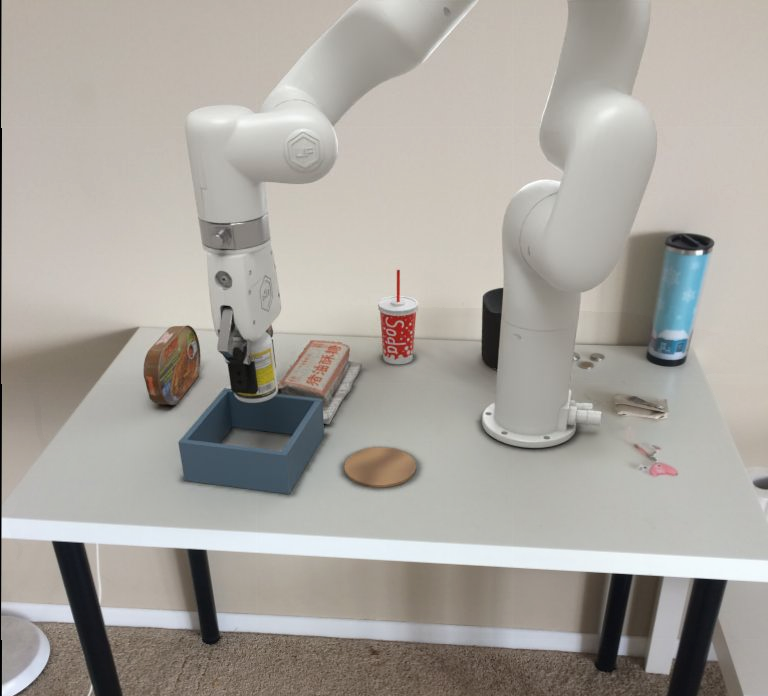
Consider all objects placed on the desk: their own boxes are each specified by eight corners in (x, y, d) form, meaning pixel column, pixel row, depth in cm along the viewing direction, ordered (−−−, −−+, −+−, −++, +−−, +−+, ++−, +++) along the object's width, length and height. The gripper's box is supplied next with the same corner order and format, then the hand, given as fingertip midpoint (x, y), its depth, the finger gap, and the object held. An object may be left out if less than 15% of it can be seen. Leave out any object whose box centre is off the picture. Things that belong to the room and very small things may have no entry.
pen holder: (535, 347, 138) (541, 286, 133) (544, 373, 131) (551, 310, 125) (476, 348, 139) (479, 287, 133) (481, 374, 131) (485, 310, 125)
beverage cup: (370, 359, 135) (369, 271, 127) (394, 346, 139) (394, 260, 131) (402, 370, 132) (402, 280, 124) (425, 356, 136) (427, 268, 128)
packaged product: (298, 334, 131) (362, 340, 129) (300, 363, 134) (362, 369, 132) (257, 387, 117) (328, 394, 115) (260, 418, 120) (330, 426, 118)
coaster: (422, 454, 112) (422, 451, 112) (407, 491, 105) (407, 489, 104) (355, 446, 114) (354, 443, 113) (335, 482, 106) (335, 479, 106)
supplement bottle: (241, 382, 109) (230, 308, 103) (283, 384, 108) (275, 310, 103) (228, 403, 105) (216, 326, 99) (271, 405, 104) (262, 328, 98)
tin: (167, 415, 121) (158, 359, 116) (146, 414, 121) (136, 358, 116) (205, 369, 133) (197, 316, 128) (185, 367, 133) (177, 315, 128)
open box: (324, 435, 116) (322, 398, 113) (289, 494, 104) (286, 455, 101) (229, 424, 119) (224, 387, 115) (184, 480, 107) (177, 441, 104)
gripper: (238, 258, 87) (258, 417, 98) (292, 209, 101) (305, 353, 111) (169, 255, 89) (197, 411, 99) (232, 206, 103) (250, 348, 113)
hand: (254, 379), depth 105 cm, fingers closed on supplement bottle, 5 cm apart
